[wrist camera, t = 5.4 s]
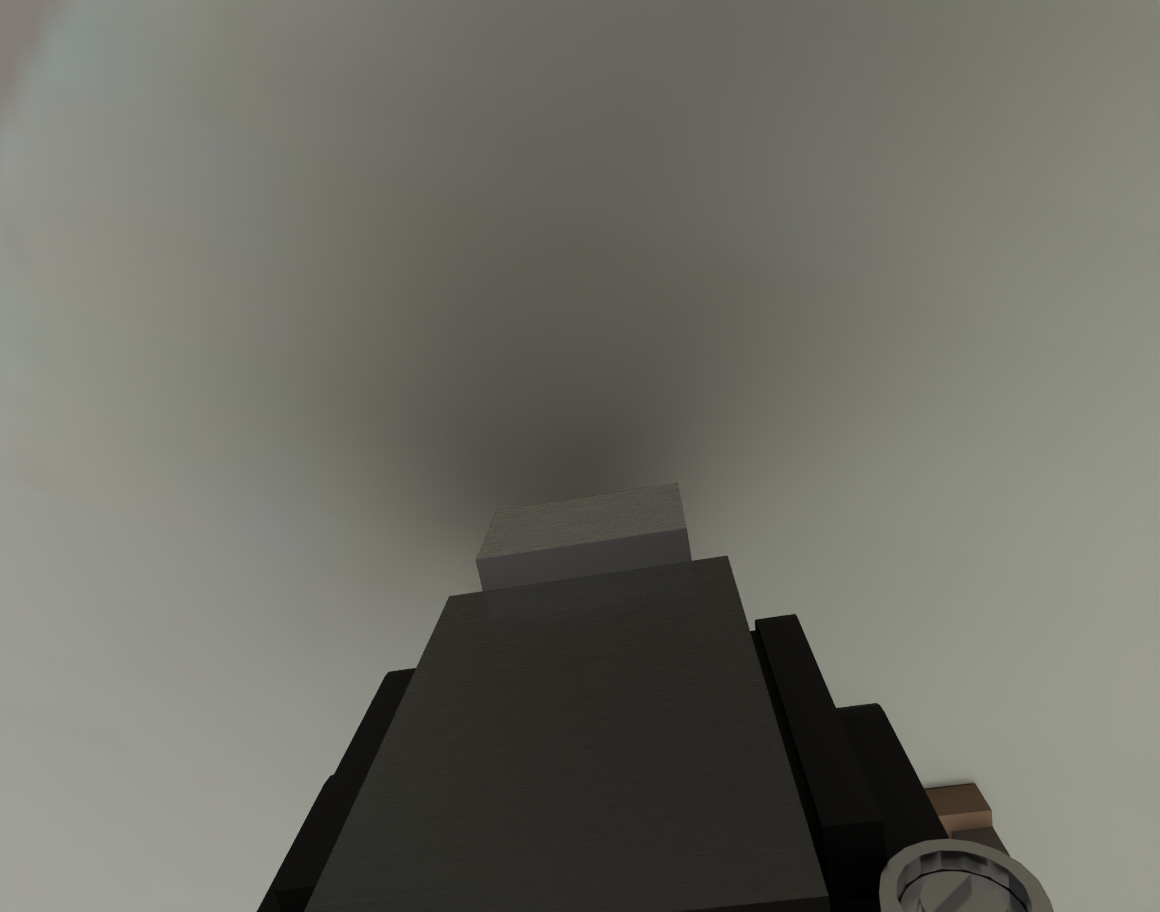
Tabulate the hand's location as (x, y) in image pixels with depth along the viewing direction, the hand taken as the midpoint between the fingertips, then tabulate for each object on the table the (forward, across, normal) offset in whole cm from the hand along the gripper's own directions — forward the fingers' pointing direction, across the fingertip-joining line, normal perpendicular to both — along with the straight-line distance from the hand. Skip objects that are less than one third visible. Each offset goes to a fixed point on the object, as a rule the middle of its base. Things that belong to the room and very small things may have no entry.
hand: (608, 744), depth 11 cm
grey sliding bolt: (+3, 0, +8) cm, 9 cm away
